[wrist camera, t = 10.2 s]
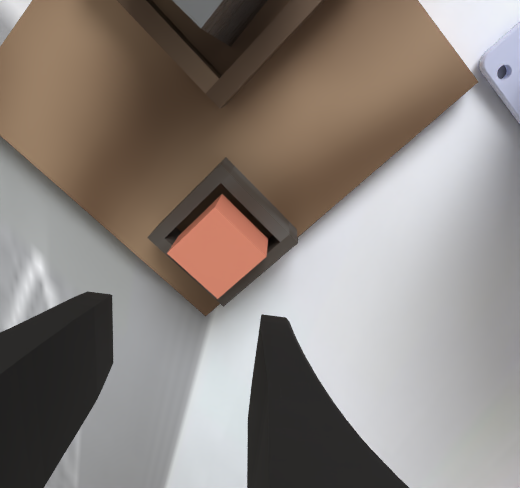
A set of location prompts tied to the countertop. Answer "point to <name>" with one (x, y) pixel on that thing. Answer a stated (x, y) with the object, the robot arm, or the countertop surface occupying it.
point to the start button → (219, 247)
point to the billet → (222, 16)
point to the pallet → (219, 112)
